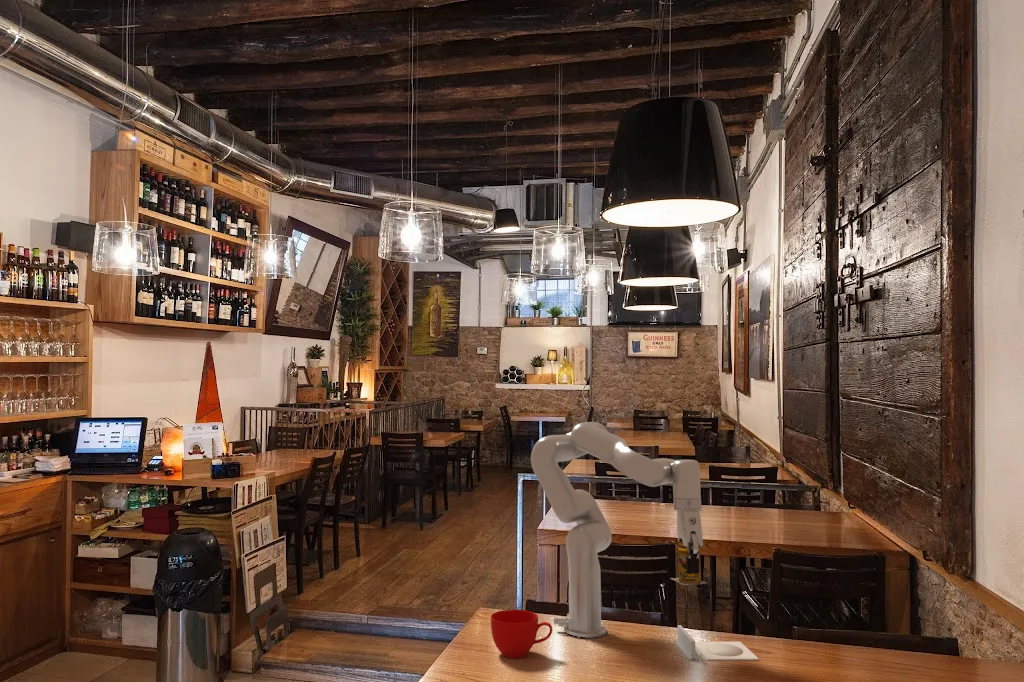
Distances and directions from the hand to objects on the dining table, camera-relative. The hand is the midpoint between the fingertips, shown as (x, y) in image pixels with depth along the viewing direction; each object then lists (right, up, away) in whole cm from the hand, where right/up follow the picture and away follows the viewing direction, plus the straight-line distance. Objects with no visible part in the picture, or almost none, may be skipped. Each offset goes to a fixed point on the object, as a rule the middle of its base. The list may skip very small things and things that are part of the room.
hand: (689, 569), depth 197 cm
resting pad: (+9, -22, -1) cm, 24 cm away
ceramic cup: (-47, -22, -5) cm, 52 cm away
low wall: (-1, -22, -2) cm, 22 cm away
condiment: (0, -4, +1) cm, 4 cm away
